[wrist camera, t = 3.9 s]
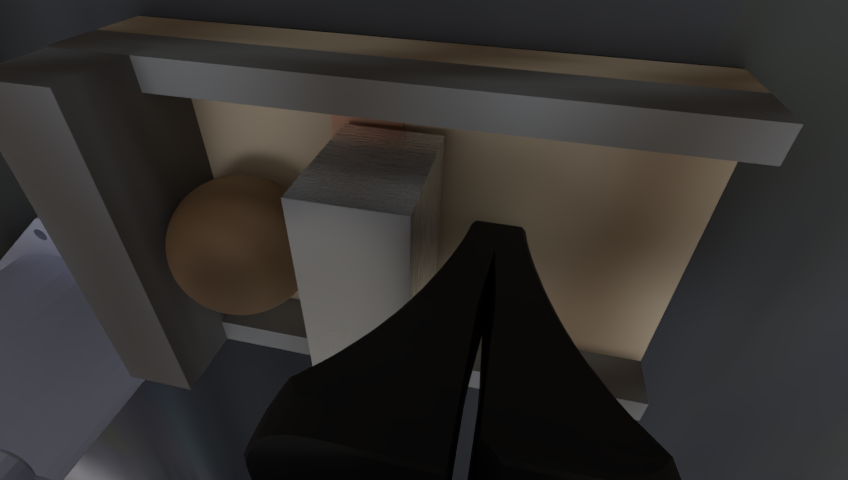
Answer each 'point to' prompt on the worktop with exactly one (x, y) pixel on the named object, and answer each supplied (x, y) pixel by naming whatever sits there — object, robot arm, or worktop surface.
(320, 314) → the grey rectangular block
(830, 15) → the worktop surface
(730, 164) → the wooden shadow box
